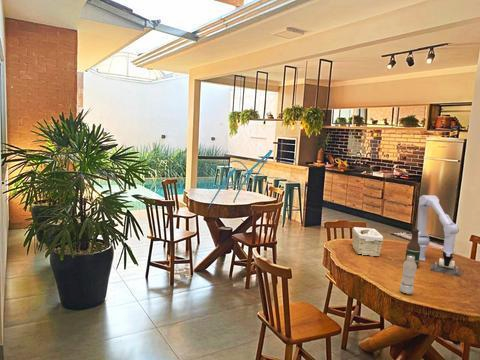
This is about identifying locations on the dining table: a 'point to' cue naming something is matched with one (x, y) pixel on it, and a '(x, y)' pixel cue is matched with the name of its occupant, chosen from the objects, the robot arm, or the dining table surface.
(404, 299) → the dining table surface
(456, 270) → the roll cradle
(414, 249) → the beer bottle
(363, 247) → the storage basket
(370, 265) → the dining table surface
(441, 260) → the paper roll
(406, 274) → the plastic bottle
